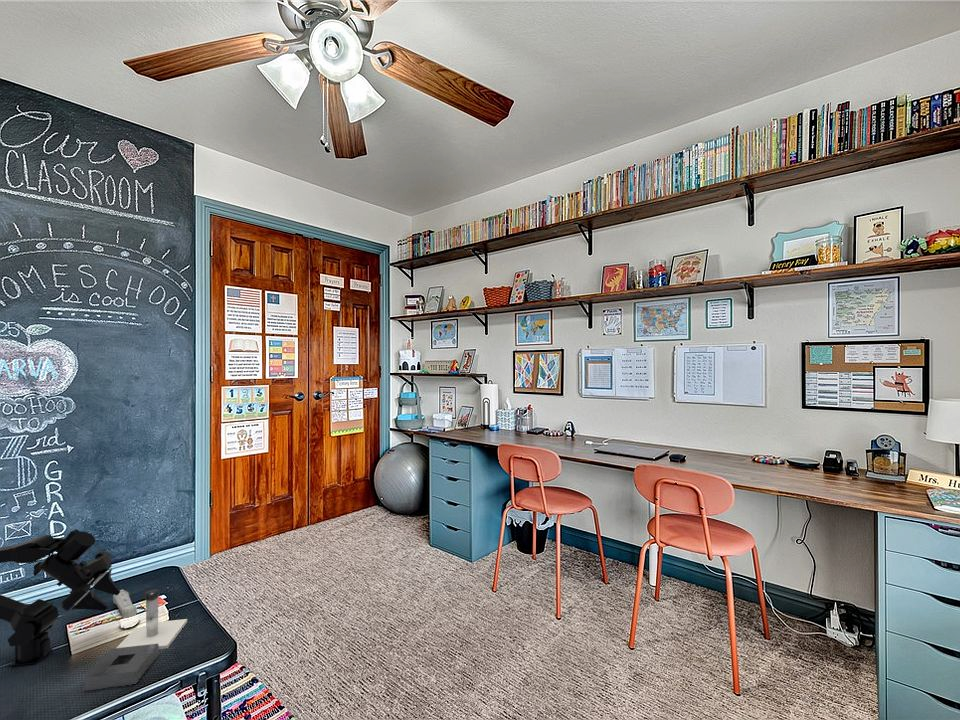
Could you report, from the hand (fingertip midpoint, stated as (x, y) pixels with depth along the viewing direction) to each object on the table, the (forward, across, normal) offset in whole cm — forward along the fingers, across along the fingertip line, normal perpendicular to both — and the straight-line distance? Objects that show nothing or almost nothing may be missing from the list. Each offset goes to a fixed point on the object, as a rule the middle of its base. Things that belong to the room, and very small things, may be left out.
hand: (112, 601), depth 137 cm
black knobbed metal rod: (+16, +1, +2) cm, 16 cm away
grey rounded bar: (+8, +20, +12) cm, 25 cm away
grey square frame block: (+15, -15, +4) cm, 21 cm away
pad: (+16, +1, +3) cm, 17 cm away
